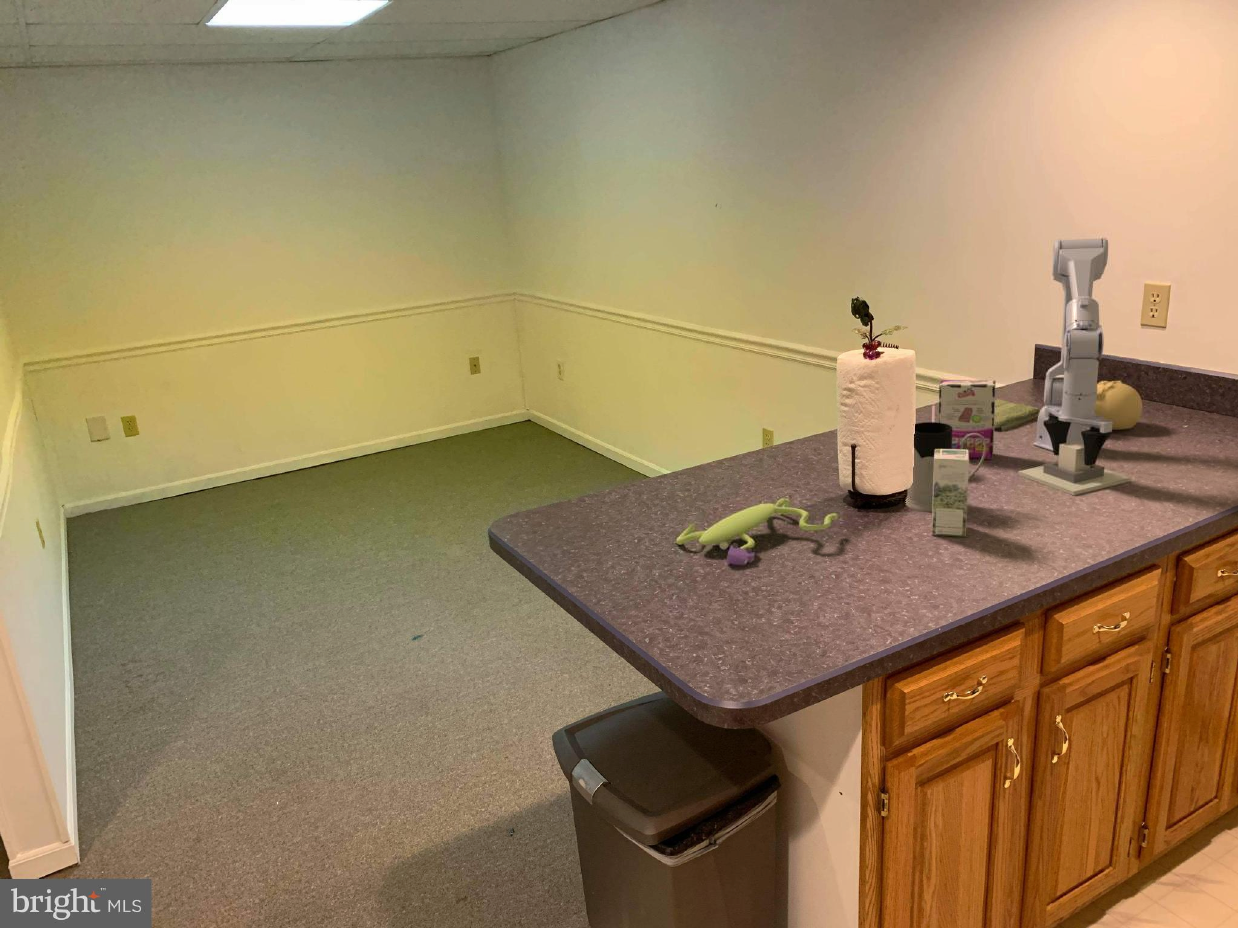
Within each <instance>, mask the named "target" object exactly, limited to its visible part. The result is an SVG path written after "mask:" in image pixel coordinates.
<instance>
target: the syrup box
mask: <svg viewBox="0 0 1238 928" xmlns="http://www.w3.org/2000/svg"><path fill="white" fill-rule="evenodd" d="M969 472H970V459H969V451H968V450H961V449H935V454H934V475H933V506H932V512H931V513H932V515H931V535H932V536H946V537H960V538H961V537H962V538H963V537H966V536H967V517H968V495H969V493H968V492H969V479H970V478H969V474H970V473H969Z"/></svg>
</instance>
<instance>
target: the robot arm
mask: <svg viewBox="0 0 1238 928" xmlns="http://www.w3.org/2000/svg"><path fill="white" fill-rule="evenodd" d="M1052 248H1053V249H1052V251H1053V252H1052V270H1051V271H1052V272H1051V273H1052V274H1051V276H1052V277H1053V281H1056V282H1058V283H1060V284H1061V285H1062V286H1061V287H1062V289H1063V293H1064V295H1063V313H1062V315H1063V316H1062V333H1061V351H1060V352H1061V353H1060V355H1061V356H1060V361H1059V362H1058V363H1056V364H1055V365H1053V366H1052V367H1050V368H1049V369H1048V370H1047V371H1046V373H1045V381H1044V388H1043V389H1044V394H1043V402H1044V403H1043V404H1044V406H1043V407H1042V408H1041V409H1040V413H1039V415H1038V417H1037V424H1036V425H1037V427H1036V440H1035V442H1034V441H1033V446H1036V447H1040V448H1042V449H1045V450H1049V451H1052V452H1053V455H1054V456H1057V457H1058V456H1059V448H1060V444H1064V443H1068V442H1072V441H1077V442H1081V443H1084V464H1085V465H1086V466H1089V465H1094V464H1096V463H1097V460H1098V457H1099V455H1100V452H1101V450H1102V449H1103V446H1104V445H1105V444H1106V442H1107V440H1108V439H1109V438H1110V436H1111V435H1112V434H1113V433H1112V431H1113V429H1112V424H1113V422H1112V421H1109V420H1106V419H1104V418H1102V417H1100V416H1098V415H1096V414H1094V412H1095V404H1096V400H1097V384H1098V372H1099V365H1100V364H1099V360H1100V361H1101V360H1102V356H1103V353H1104V346H1105V345H1104V343H1105V342H1104V341H1105V337H1104V332H1103V328H1102V325H1100V304H1099V302H1098V301H1097V300H1096V299H1094V298H1093V289H1094V288H1093V287H1094V282H1096V281H1098V280H1101V278H1102V276H1103V275H1104V272H1105V269H1106V267H1107V264H1108V258H1109V240H1108V239H1107V238H1106V237H1100V238H1099V237H1098V238H1078V239H1077V238H1076V239H1055V241H1054V242H1053V247H1052ZM1059 375H1064V378H1054V377H1056V376H1059ZM1087 428H1088V429H1087Z"/></svg>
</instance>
